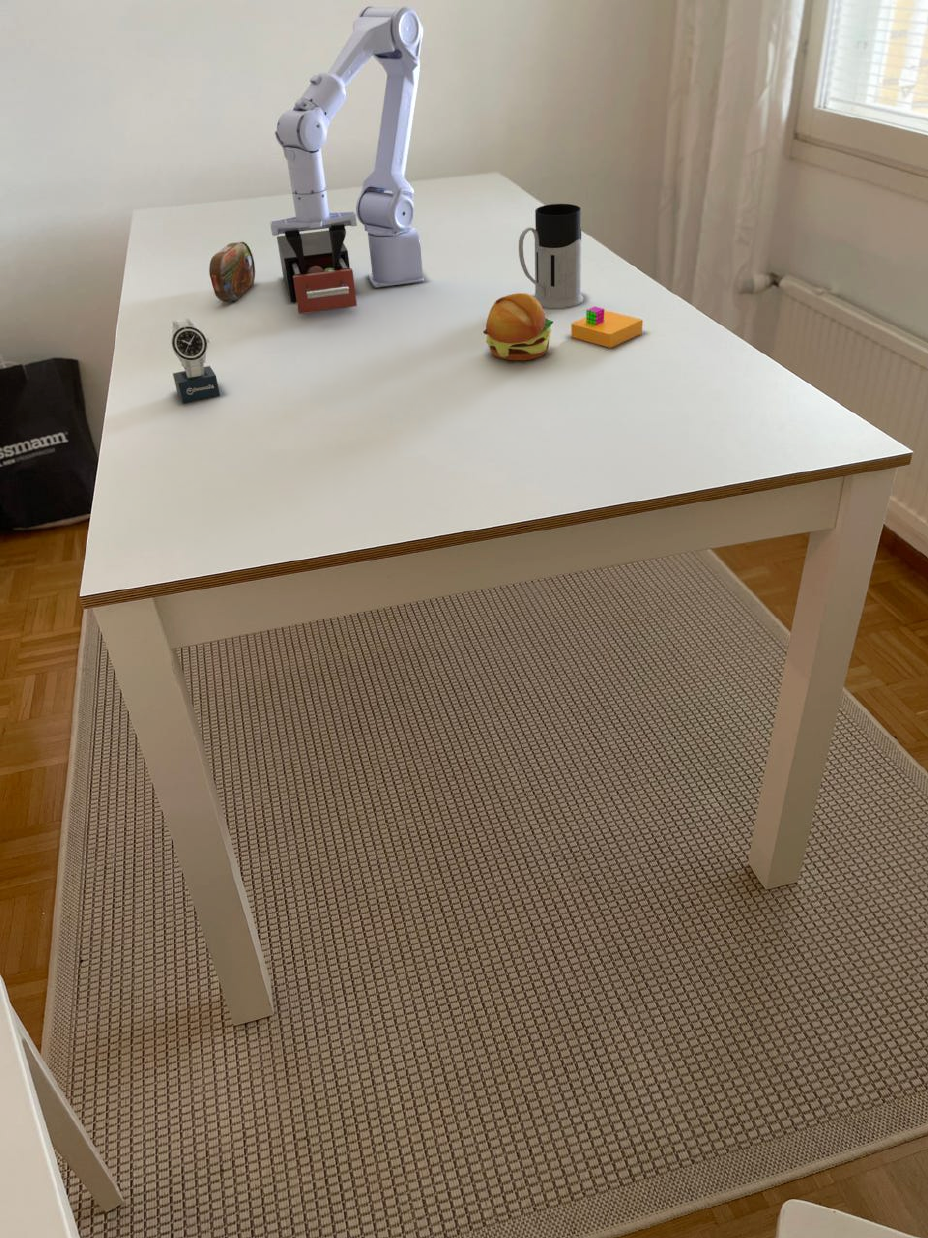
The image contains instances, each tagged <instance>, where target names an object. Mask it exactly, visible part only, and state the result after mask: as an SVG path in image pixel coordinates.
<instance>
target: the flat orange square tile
mask: <svg viewBox="0 0 928 1238" xmlns="http://www.w3.org/2000/svg"><path fill="white" fill-rule="evenodd" d="M585 311H586V313H585V315H586V316H585V317H583V318H581V319H579V320H577V321H574V322H572V323H571V326H570V327H571V328H570V336H571V338H572V339H577V340H580V341H584V342H588V343H591V344H593V345H598V346H602V347H605V348H609V349H611V348H614V347H616V346H618V345H620V344H623V343H624V342H625V343H626V341H629V340H631V339H633V338H636V337H637V336H640V335H642V334H643V323H644V320H643V319H640V318H636V317H632V316H629V315H625V314H621V313H617V312H613V311H609V310H605V308H602V307H599V306H592V307H590V308H587V309H586V310H585Z"/></svg>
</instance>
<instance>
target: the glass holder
mask: <svg viewBox="0 0 928 1238" xmlns="http://www.w3.org/2000/svg"><path fill="white" fill-rule="evenodd" d="M581 211H582V210H581V207H580V206H578V205H576V204H570V203H552V204H546V205H541V206H539V207H537V208H535V210H534V212H535V213H534V216H535V218H534V219H535V220H534V221H535V222H534V223H535V224H534V225H535V228H534V227H526V228H525V229H524V230H523V231H522V232H521V233H520V236H519V240H518V257H519V262H520V265H521V268H522V271H523V273H524V276H526V278H527V279H528V280H529V281H530V282H531V283H533V284H534V288H535V289H534V290H535V292H534V296H533V297H534V298H535V299H537V301H538V302H539V303H540V304H541V306H542V308H545V309H567V308H572V307H575V306H578V305H580V304H581V303H583V301H584V296H583V295H582V289H581V288H582V228H581V220H582V219H581V216H582V215H581V213H582V212H581ZM530 231H531V232H532V233H533V237H534V278H533V277H532V275H531V274H530V273H529V270H528V268H527V266H526V263H525V258H524V239H525V236H526V235H527V234H528V233H529V232H530Z"/></svg>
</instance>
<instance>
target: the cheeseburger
mask: <svg viewBox="0 0 928 1238" xmlns="http://www.w3.org/2000/svg"><path fill="white" fill-rule="evenodd" d="M553 324H554V321H553V320H550V319H548V318H547V317H546V313H545V310H544V307H542V306H541V304H540V303H539V302H538V301H537V299H535V298H534V296H533V295H531V294H529V293H524V292H517V293H512V294H509V295H504V296H501V297H500V298H497V299H495V301H494V303H493V304H492V306H491V308H490V311H489V313H488V317H487V320H486V323H485V329H484V330H483V331H482V333H483V334H484V335H486V339H485V343H486V344H487V346H488V347H489V350H490V352H491V353H492V355H494V357H498V358H500V359H503V360H508V361H529V360H534V359H537V358H540V357H543V356H544V355H545V354H547V352H548V351H549V347H550V340H551V339H550V338H551V333H552V328H551V325H553Z"/></svg>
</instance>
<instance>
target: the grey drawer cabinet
mask: <svg viewBox="0 0 928 1238" xmlns="http://www.w3.org/2000/svg"><path fill="white" fill-rule="evenodd" d="M300 236H301V239H302V247H303V254H304V260H307V259H315V258H323V257H331V256H332V246H331V240H330V233H329V229H328V230H319V231H312V232H305V233H300ZM276 241H277V247H278V253H279V259H280V266H281V272H282V278H283V281H284V284H285V288H286V291H287V294H288V297H289V300H290V303H297V300H296V294H295V289H294V284H293V278H292V271H291V265H290V262H291V261H298V258H297V256H296V254H295V253H294V251H293V249H292V247H291V246H290V244H289V243H288V241H287V239H286V236H285V235H277V236H276ZM340 255H341V257H342V259H343V261H344V263H345V264H346V266H347V269H350V268H351V266H350V259H349V258H350V257H349V251H348V249H347V246H346V245H345V243H344V242H343V245H342V249H341V254H340Z"/></svg>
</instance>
